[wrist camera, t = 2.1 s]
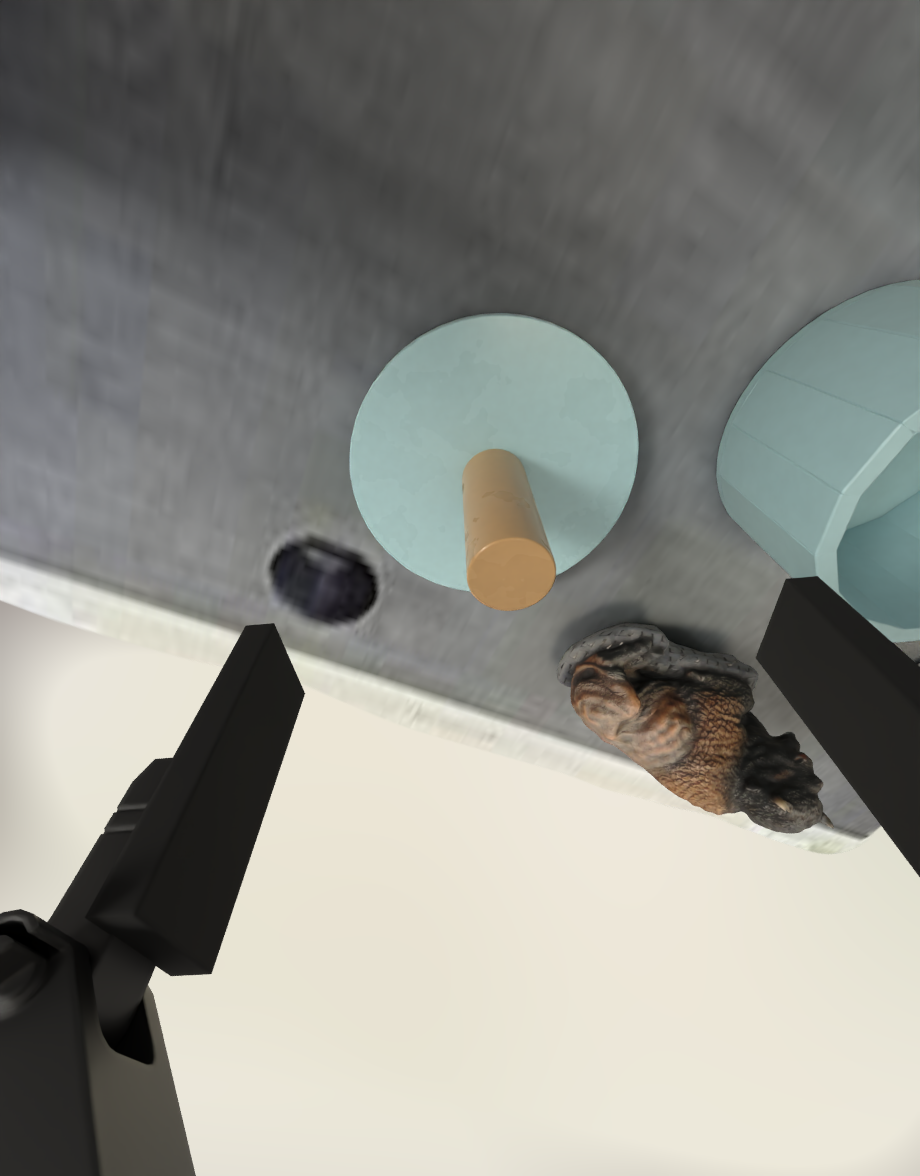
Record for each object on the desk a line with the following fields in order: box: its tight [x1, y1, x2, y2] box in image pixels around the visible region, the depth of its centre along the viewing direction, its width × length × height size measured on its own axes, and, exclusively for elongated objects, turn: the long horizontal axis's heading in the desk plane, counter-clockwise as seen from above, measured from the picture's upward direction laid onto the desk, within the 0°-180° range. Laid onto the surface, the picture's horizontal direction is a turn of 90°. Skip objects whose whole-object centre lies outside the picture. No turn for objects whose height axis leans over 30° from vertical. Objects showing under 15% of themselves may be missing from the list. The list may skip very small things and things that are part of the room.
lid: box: [349, 313, 639, 611], centre depth 18 cm, size 13×13×9 cm
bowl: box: [716, 280, 920, 643], centre depth 18 cm, size 11×11×8 cm
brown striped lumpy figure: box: [557, 623, 834, 833], centre depth 25 cm, size 12×7×10 cm, turn 73°
